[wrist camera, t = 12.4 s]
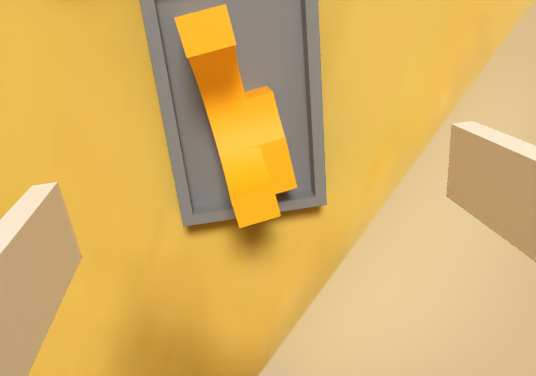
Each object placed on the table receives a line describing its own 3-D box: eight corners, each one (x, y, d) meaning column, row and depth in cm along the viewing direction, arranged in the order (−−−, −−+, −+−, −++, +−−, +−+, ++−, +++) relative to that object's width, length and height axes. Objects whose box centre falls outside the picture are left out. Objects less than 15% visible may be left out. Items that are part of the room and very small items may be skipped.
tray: (138, -29, 26) (133, -33, 24) (307, -44, 27) (316, -48, 25) (184, 214, 32) (183, 226, 31) (319, 194, 33) (326, 204, 32)
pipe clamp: (287, 171, 31) (308, 207, 26) (231, 187, 31) (239, 228, 25) (246, -2, 27) (260, -6, 21) (179, 16, 26) (174, 17, 21)
